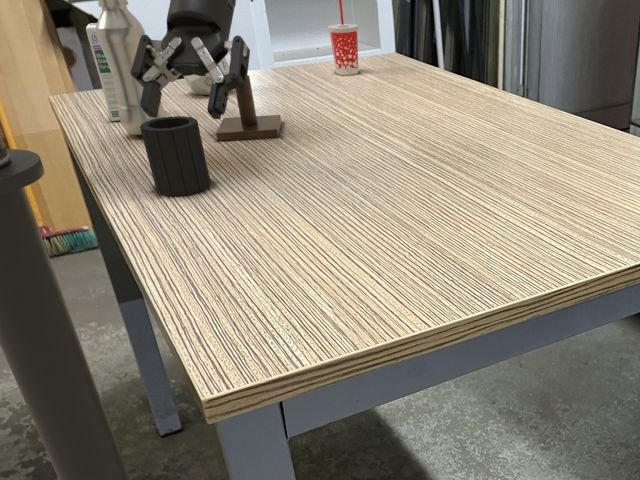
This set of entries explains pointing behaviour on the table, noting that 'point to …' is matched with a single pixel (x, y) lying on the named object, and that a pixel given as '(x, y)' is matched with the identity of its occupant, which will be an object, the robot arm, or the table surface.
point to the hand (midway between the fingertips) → (181, 115)
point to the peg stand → (248, 120)
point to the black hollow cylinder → (176, 155)
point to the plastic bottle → (123, 60)
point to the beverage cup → (344, 46)
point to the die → (205, 80)
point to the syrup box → (103, 73)
